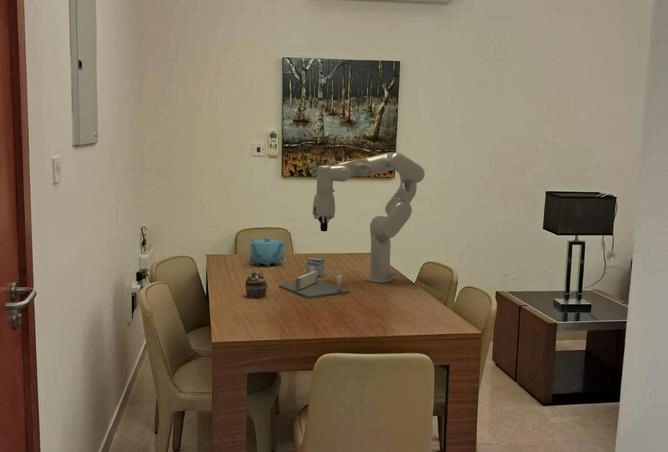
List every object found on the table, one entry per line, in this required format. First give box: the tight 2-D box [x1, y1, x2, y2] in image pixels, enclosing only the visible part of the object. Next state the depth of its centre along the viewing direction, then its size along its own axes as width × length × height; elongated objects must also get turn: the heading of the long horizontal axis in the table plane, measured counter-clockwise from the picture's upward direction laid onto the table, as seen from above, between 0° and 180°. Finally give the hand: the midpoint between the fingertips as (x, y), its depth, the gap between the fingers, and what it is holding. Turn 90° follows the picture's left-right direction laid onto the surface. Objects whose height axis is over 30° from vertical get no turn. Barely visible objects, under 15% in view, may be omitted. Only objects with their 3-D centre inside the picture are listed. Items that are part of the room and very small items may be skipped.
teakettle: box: [249, 237, 286, 268], centre depth 346 cm, size 19×19×15 cm
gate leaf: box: [294, 271, 318, 290], centre depth 292 cm, size 2×19×5 cm, turn 156°
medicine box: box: [305, 257, 325, 278], centre depth 320 cm, size 8×4×9 cm, turn 68°
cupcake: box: [245, 272, 268, 299], centre depth 276 cm, size 10×10×10 cm
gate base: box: [278, 267, 351, 300], centre depth 290 cm, size 22×25×8 cm
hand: (323, 230), depth 301 cm, fingers closed
